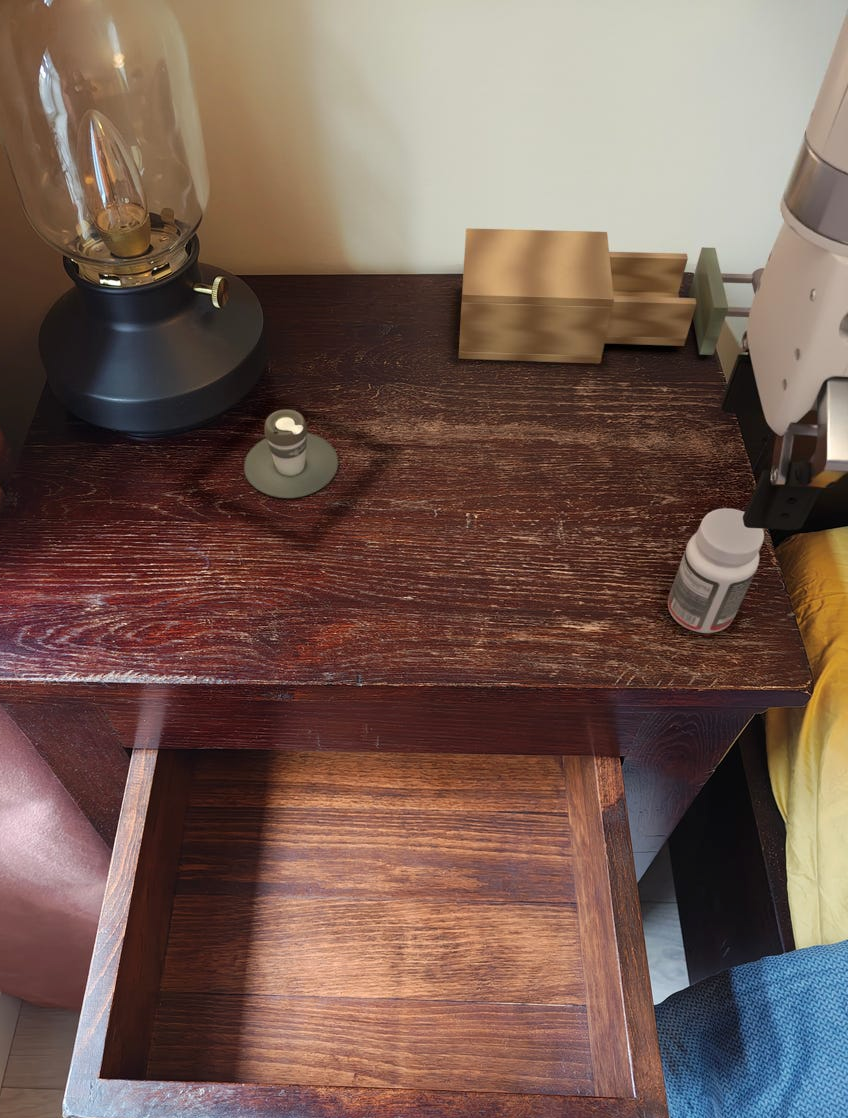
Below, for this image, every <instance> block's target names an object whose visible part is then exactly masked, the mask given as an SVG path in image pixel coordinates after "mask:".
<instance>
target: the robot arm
mask: <svg viewBox="0 0 848 1118" xmlns="http://www.w3.org/2000/svg"><path fill="white" fill-rule="evenodd" d="M831 53H832V54H831V56H830V60H829V62H828V65H827V68H826V70H825V73H824V76H823V79H822V82H821V85H820V87H819V90H818V93H817V96H816V100H815V102H814V105H813V108H812V111H811V113H810V116H809V120H808V122H807V125H806V127H805V128H806V129H805V130H804V134H803V136H802V138H801V139H802V140H801V142H800V145H799V147H798V150H797V154H796V157H795V159H794V162H793V165H792V168H791V170H790V174H789V177H788V180H787V183H786V185H785V188H784V190H783V194H782V196H781V200H780V203H779V206H780V207H779V208H780V209H779V211H780V212H781V216H782V219H783V222H782V225H781V227H780V229H779V232H778V234H777V236H776V238H775V241H774V243H773V246H772V248H771V251H770V253H769V255H768V258H767V261H766V263H765V266H764V267H763V268H764V271H763V274H762V276H761V279H760V282H759V285H758V287H757V290H756V293H755V294H754V296H753V300H752V303H751V306H750V308H751V310H750V313H749V317H747V324H746V331H744V333H743V335H742V337H741V342H740V343H741V344H740V351H741V352H742V353H747V354H741V353H739V354H737V356H736V359H735V362H734V364H733V367H732V370H731V372H730V375H729V379H728V381H727V384H726V387H725V389H724V392H723V395H722V398H721V401H720V407H721V411H722V412H724V413H726V414H738V415H739V414H741V415H760V416H761V415H762V416H764V419H765V421H766V423H767V425H768V426H769V428H770V429H771V430H772V431H773V432H774V434H775V440H774V447H773V454H772V460H771V468H769V469H763V470H762V471H761V474H760V476H759V478H758V481H757V483H756V485H755V487H754V489H753V492H752V495H751V497H750V499H749V501H748V504H747V506H746V508H745V510H744V512H745V513H744V515H743V522H744V526H745V527H747V528H761V529H763V530H781V531H797V530H799V529H801V528H802V527H803V525H804V524H805V522H806V520H807V518H808V516H809V514H810V512H811V510H812V508H813V507H814V505H815V502H816V501H817V499H818V497H819V495H820V493H821V492H822V489H826V488H833V487H834V486H835V485H836V484H837V482H838V481H839V480H840V479H841V478H843V477H844V476H845V475H847V474H848V9H847V10H846V14H845V16H844V19H843V22H842V24H841V28H840V30H839V33H838V36H837V39H836V42H835V45H834V48H833V50H832V52H831ZM809 411H816V424H815V423H798V422H799V421H800V420H801V419H803V417H805V416H806V415H807V414H808V412H809ZM795 437H816V448H815V450H814V451H815V452H814V453H813V455H812V456H810V459H809V460H808V461H793V462H792V461H791V459H792V453H793V447H794V446H793V445H794V438H795Z"/></svg>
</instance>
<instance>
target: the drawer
mask: <svg viewBox="0 0 848 1118" xmlns="http://www.w3.org/2000/svg"><path fill="white" fill-rule="evenodd" d="M609 256H610V265H611V275H612V285H613V294H614V301H613V306H612V311H611V315H610V320H609V325H608V330H607V334H606V339H605V344H608V345H609V344H614V345H642V346H643V345H645V346H648V345H649V346H669V347H670V346H672V347H673V346H674V347H684V346H685V344H686V341H687V338H688V334H689V330H690V327H691V324H692V321H693V327H694V332H695V337H696V343H697V349H698V355H701V356H703V355H704V356H706V355H707V356H714V354H715V350H716V347H717V345H718V341H719V338H720V335H721V332H722V329H723V326H724V323H725V320H726V317H727V318H728V317H729V318H730V317H731V318H748V317H749V313H750V310H751V307H742V306H741V307H740V306H737V307H736V306H729V304H728V299H727V295H726V290H725V286H724V284H751V286H752V289H753V294H754V295H755V293H756V290H757V287H758V285H759V282H760V279H761V276H762V274H763V271H764V268H765V267H761V268H757V269H755V270H754V271H753V272H751V273H726V272H725V273H722V272H721V267H720V262H719V258H718V253H717V250H716V247H701V250H700V253H699V256H698V260H697V263H696V267H695V270H694V273H693V276H692V281H691V283H690V288H689V291H688V297H680V295H679V292H680V290H681V286H682V283H683V278H684V275H685V271H686V268H687V263H688V260H689V258H688V254H687V253H674V252H637V251H609Z"/></svg>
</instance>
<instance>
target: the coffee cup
mask: <svg viewBox="0 0 848 1118" xmlns="http://www.w3.org/2000/svg"><path fill="white" fill-rule="evenodd" d="M264 437H265V438H263V439H261V440H260V441H258V442H257V443H256V444H255V445H254V446H252V448H250V450H249V451H248V453H247V454H246V457H245V460H244V463H243V471H244V475H245V477H246V480H247V481H248V483H249V484H250V485H251V486H252V487H253V488H254V489H255V490H257V491H259V492H261V493H262V494H263V495H266V496H269V497H272V498H274V499H280V500H293V499H300V498H304V497H307V496H310V495H313V494H315V493H317V492H320V490H322V489H324V488H325V487H326V486H327V485H328V484H329V483H331V482H332V480H333V479H334V477H336V474H337V472H338V468H339V457H338V454H337V452H336V449H335V448H334V447H333V445H332V444H330V442H329V441H327V440H326V439H324V438H323V437H321V436H318V435H316V434H313V433H310V432H308V426H307V422H306V419H305V417H304V416H303V414H302V413H300V412H299V411H296V410H294V409H288V408H287V409H279V410H276V411H274V412H272V413H271V414H269V415H268V416H267V418H266V419H265V421H264Z"/></svg>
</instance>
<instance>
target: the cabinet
mask: <svg viewBox="0 0 848 1118" xmlns="http://www.w3.org/2000/svg"><path fill="white" fill-rule="evenodd" d="M464 240H465V241H464V253H463V254H464V257H463V272H462V288H461V289H462V291H461V307H460V323H459V324H460V325H459V342H458V343H459V344H458V359H459V360H485V361H486V360H487V361H509V362H511V361H512V362H541V363H542V362H543V363H565V364H566V363H567V364H568V363H569V364H593V365H595V364H596V365H597V364H598V365H599V364H601V363H602V358H603V357H602V356H603V354H604V353H603V352H604V349H605V344H606V343H605V339H606V334H607V330H608V325H609V320H610V315H611V311H612V306H613V301H614V294H613V285H612V275H611V265H610V256H609V252H610V248H609V237H608V232H607V231H590V230H589V231H587V230H586V231H583V230H548V229H547V230H545V229H510V228H509V229H505V228H471V227H470V228H469V227H468V228H467V227H466V229H465V239H464Z"/></svg>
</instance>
